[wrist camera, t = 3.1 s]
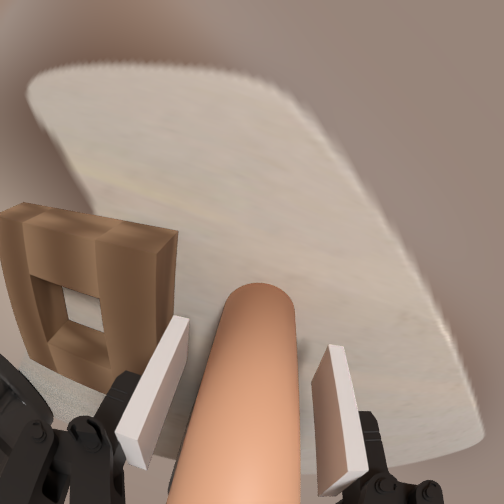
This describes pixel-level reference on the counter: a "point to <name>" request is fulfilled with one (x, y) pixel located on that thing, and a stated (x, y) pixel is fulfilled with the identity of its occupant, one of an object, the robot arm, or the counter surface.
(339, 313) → the counter surface
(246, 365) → the dowel
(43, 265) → the socket block
